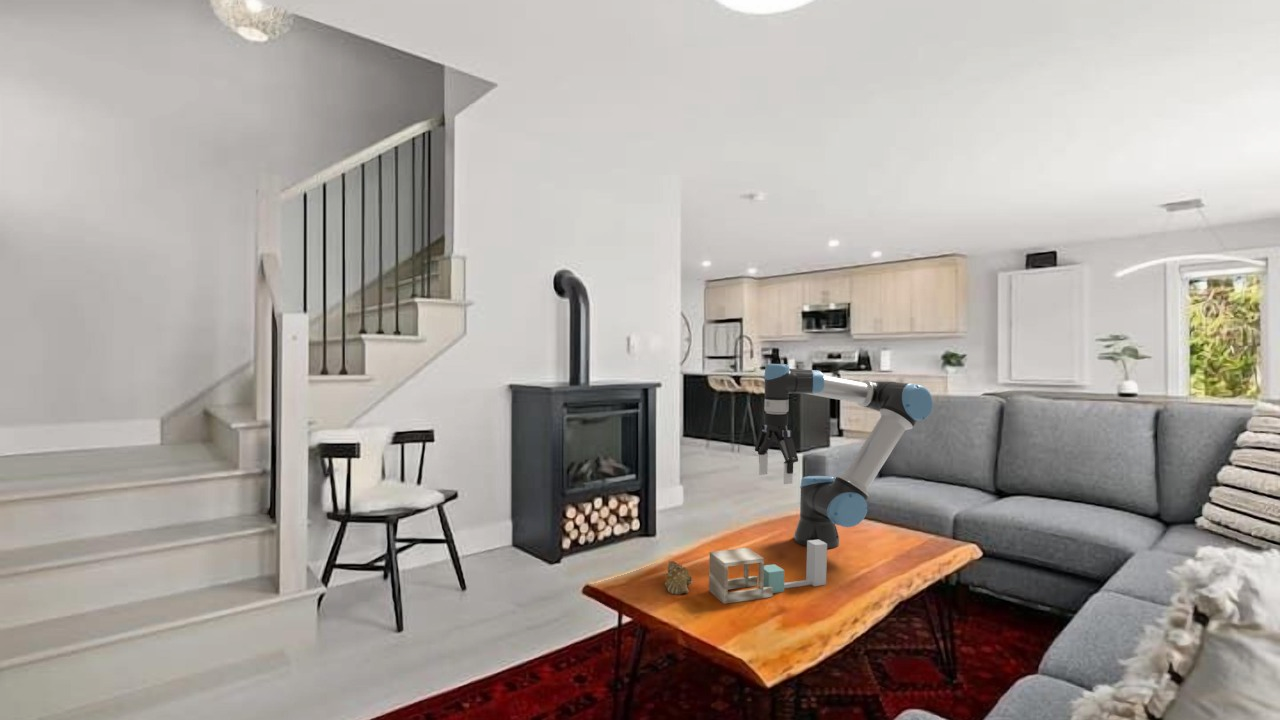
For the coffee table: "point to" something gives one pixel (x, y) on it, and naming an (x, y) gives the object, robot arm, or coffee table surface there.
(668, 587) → the seashell
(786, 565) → the coffee table surface
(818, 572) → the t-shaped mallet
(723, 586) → the shelf
